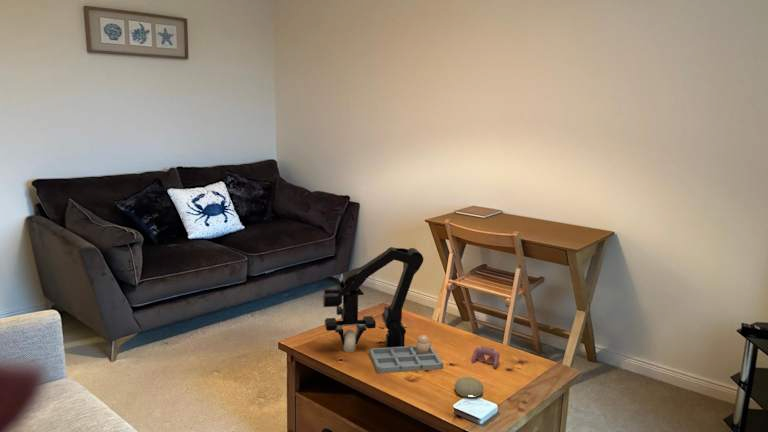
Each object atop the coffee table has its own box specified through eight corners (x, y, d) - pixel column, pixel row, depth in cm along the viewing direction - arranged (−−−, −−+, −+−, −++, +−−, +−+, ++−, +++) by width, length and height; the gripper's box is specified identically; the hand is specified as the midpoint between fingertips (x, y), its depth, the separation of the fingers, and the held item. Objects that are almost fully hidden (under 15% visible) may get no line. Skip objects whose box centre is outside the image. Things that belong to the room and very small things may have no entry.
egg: (354, 346, 228) (354, 327, 226) (356, 351, 223) (356, 332, 222) (342, 347, 227) (343, 328, 225) (344, 352, 222) (344, 332, 221)
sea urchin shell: (478, 397, 189) (463, 376, 191) (462, 408, 193) (447, 387, 195) (489, 386, 197) (475, 366, 198) (473, 396, 201) (459, 376, 202)
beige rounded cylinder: (426, 351, 224) (427, 332, 223) (430, 357, 220) (431, 337, 218) (414, 352, 223) (415, 333, 222) (418, 357, 219) (419, 338, 217)
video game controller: (498, 369, 216) (501, 350, 218) (496, 368, 212) (499, 349, 214) (472, 363, 220) (475, 344, 222) (469, 363, 216) (473, 343, 218)
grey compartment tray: (430, 350, 227) (430, 344, 226) (443, 369, 211) (443, 363, 211) (369, 354, 222) (369, 348, 221) (377, 374, 206) (378, 368, 206)
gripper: (370, 297, 231) (369, 334, 234) (323, 299, 227) (322, 337, 230) (376, 307, 220) (375, 346, 224) (326, 309, 216) (326, 349, 220)
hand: (349, 344), depth 225 cm, fingers closed on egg, 5 cm apart
